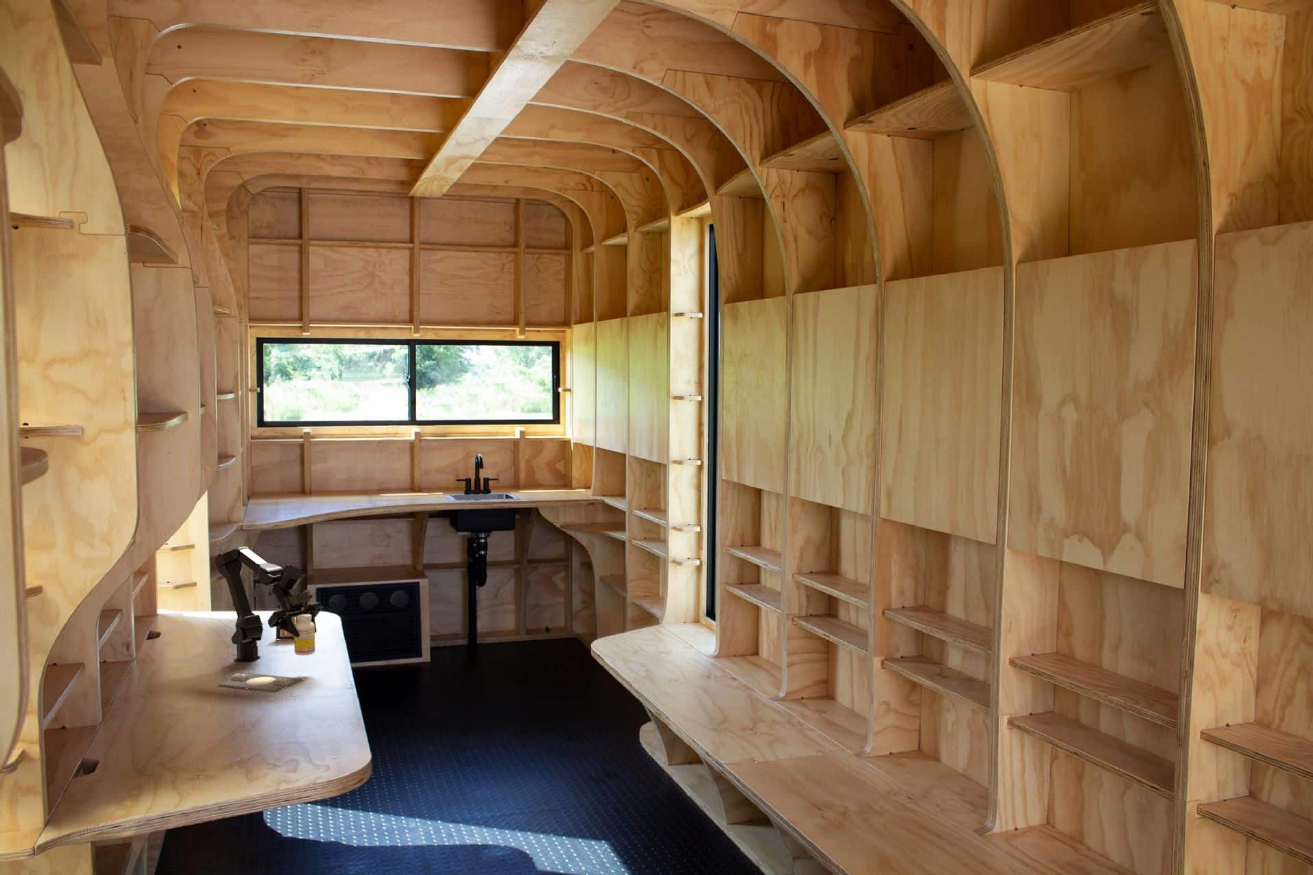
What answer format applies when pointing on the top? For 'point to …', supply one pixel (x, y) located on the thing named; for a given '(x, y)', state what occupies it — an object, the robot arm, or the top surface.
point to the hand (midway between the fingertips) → (307, 634)
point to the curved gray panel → (260, 682)
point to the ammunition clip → (284, 634)
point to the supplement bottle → (304, 635)
